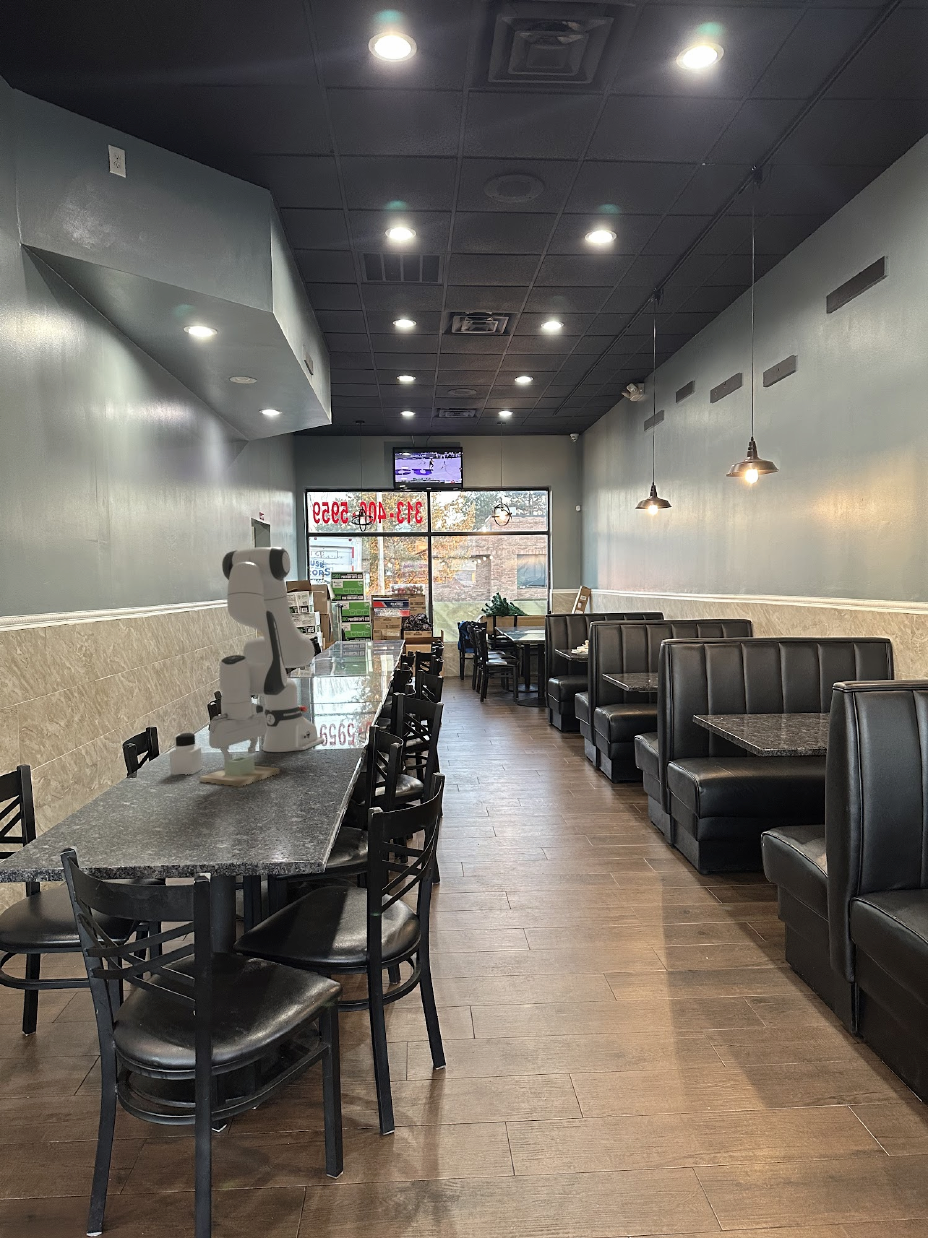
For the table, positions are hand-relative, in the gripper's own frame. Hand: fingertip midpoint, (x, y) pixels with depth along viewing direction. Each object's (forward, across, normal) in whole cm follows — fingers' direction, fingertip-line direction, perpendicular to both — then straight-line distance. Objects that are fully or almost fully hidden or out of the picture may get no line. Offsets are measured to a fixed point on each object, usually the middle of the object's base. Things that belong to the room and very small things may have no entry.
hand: (240, 756), depth 235 cm
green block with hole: (+5, -1, 0) cm, 5 cm away
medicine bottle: (+6, -2, +22) cm, 23 cm away
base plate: (+6, -1, 0) cm, 6 cm away
